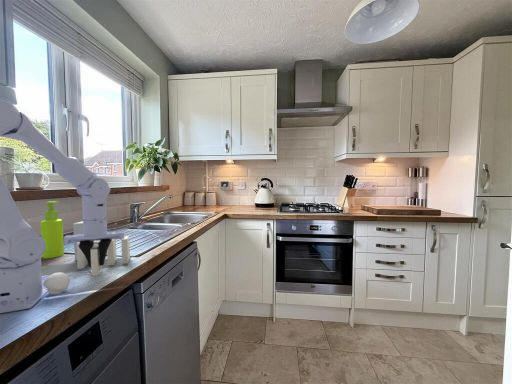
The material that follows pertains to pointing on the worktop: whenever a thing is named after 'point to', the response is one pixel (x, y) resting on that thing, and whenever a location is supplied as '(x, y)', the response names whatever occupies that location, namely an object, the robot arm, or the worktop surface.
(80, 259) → the domino
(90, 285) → the worktop surface
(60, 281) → the mushroom
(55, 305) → the worktop surface
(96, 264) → the domino
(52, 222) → the soap dispenser
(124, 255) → the domino
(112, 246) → the domino
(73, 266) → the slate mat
